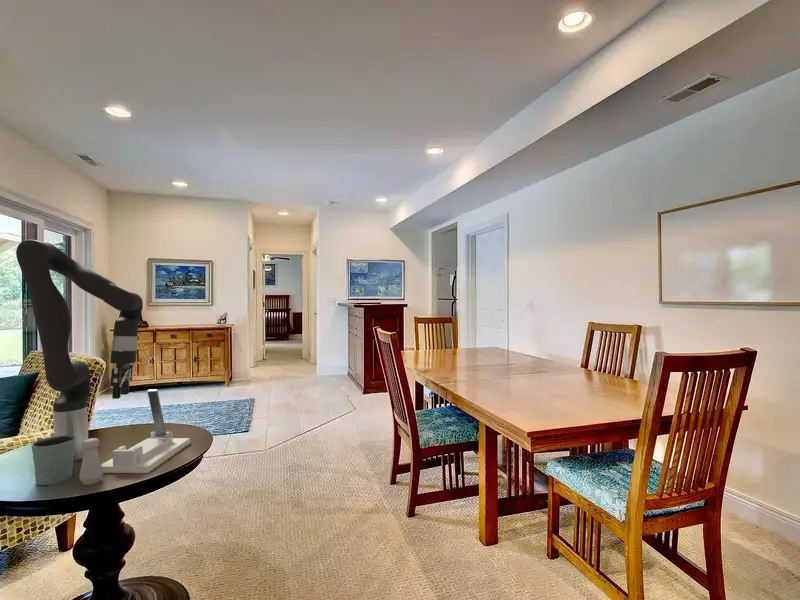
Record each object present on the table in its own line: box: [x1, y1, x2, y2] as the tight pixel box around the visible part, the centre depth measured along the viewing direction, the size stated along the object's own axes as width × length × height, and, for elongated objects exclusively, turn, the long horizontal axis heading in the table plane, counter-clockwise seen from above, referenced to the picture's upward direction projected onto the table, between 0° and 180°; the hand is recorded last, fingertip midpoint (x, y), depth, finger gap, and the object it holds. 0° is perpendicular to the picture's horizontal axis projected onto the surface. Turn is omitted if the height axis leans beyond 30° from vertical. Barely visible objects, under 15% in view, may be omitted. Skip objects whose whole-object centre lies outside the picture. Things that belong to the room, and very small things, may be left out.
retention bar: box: [146, 389, 167, 437], centre depth 149 cm, size 3×19×1 cm
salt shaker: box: [78, 437, 104, 486], centre depth 124 cm, size 6×6×13 cm
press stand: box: [101, 431, 191, 474], centre depth 143 cm, size 16×25×7 cm, turn 179°
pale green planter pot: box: [30, 435, 75, 486], centre depth 127 cm, size 10×10×12 cm
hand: (120, 396), depth 143 cm, fingers open, 8 cm apart
